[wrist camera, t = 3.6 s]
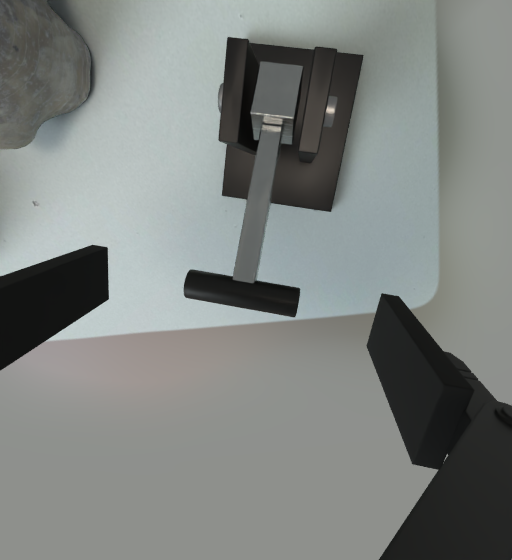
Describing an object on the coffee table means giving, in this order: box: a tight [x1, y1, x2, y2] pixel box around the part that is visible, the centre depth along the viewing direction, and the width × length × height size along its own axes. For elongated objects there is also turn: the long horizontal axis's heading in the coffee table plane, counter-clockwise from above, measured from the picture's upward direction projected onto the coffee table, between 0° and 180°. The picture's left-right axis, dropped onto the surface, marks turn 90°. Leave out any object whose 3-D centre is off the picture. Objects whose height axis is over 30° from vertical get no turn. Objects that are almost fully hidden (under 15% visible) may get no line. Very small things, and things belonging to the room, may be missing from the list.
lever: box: [184, 61, 304, 317], centre depth 16 cm, size 12×6×2 cm, turn 172°
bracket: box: [218, 37, 363, 212], centre depth 22 cm, size 12×10×14 cm
